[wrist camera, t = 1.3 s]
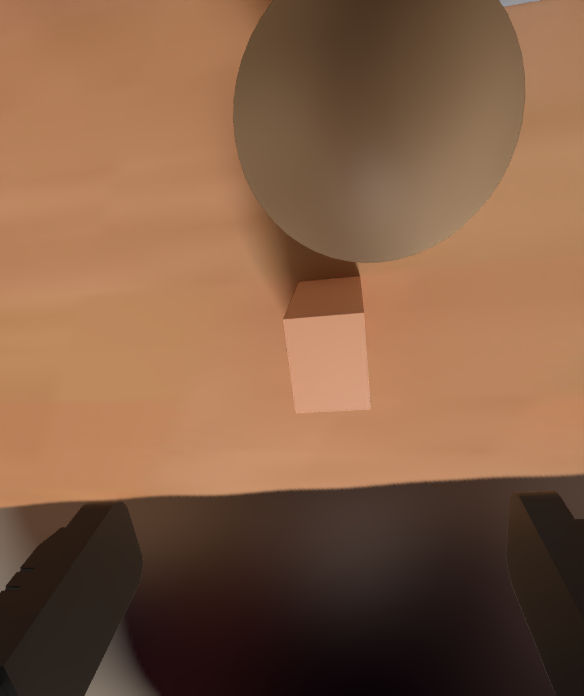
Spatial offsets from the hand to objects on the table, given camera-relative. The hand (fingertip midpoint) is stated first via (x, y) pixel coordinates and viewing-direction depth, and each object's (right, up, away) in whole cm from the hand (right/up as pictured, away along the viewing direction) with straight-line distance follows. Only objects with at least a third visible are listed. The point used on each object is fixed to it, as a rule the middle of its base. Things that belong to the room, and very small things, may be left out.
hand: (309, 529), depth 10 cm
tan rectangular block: (+2, +5, +14) cm, 15 cm away
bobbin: (+3, +13, +10) cm, 17 cm away
